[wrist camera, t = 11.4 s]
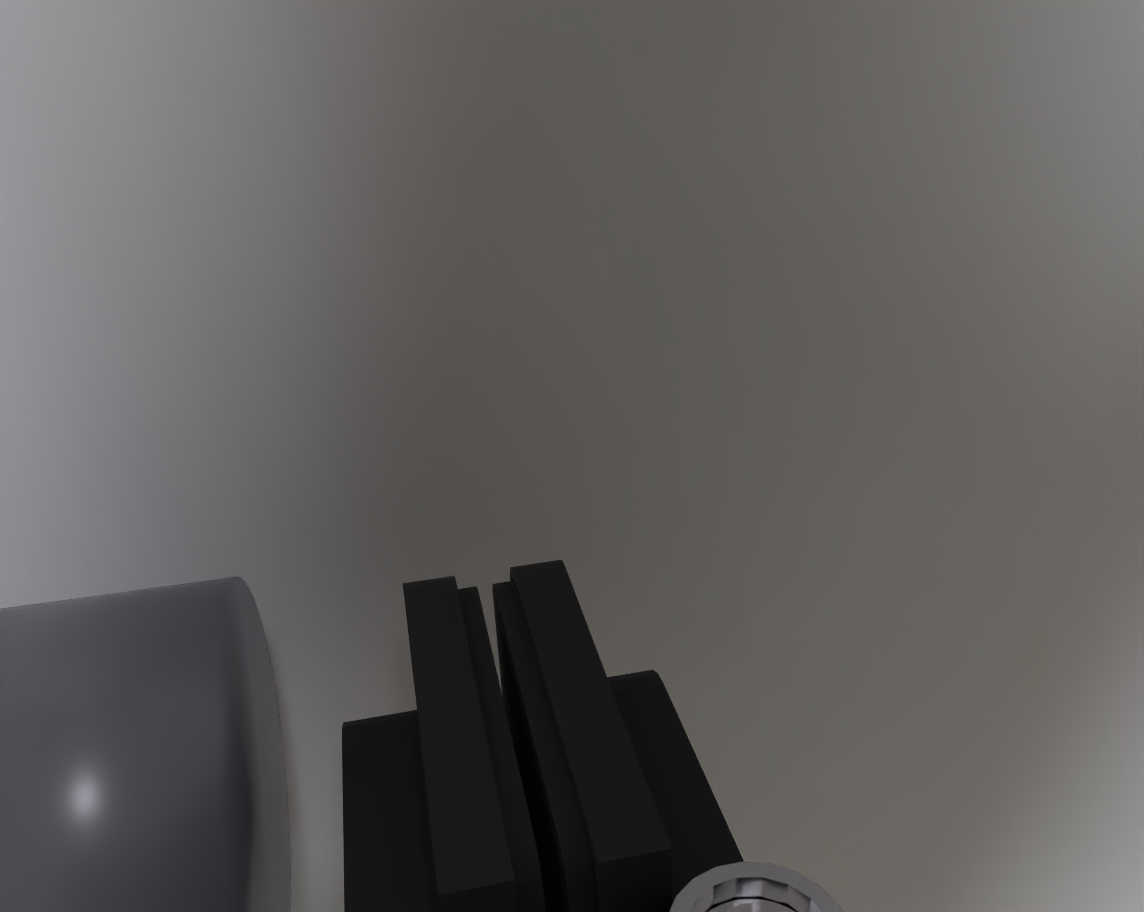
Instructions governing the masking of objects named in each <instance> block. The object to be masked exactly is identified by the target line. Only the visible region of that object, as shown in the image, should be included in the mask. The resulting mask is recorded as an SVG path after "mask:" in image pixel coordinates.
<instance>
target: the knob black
mask: <svg viewBox="0 0 1144 912" xmlns="http://www.w3.org/2000/svg"><path fill="white" fill-rule="evenodd" d="M290 898H291V864H290V831H289V812H288V796H287V783H286V771H285V760H284V751H283V741H282V733H281V725H280V717H279V710H278V703H277V696H276V690H275V684H274V677H273V672H272V667H271V661H270V656H269V651H268V647H267V642H266V638H265V634H264V630H263V626H262V622H261V619H260V615H259V612H258V609H257V606H256V603H255V600H254V598H253V595H252V593H251V591H250V589H249V587H248V586H247V584H246V582H245V581H244V580H243V579H242V578H240V577H232V578H225V579H217V580H210V581H203V582H195V583H188V584H180V585H173V586H166V587H158V588H151V589H143V590H136V591H129V592H121V593H114V594H107V595H99V596H92V597H84V598H77V599H70V600H62V601H55V602H47V603H40V604H33V605H25V606H18V607H10V608H3V609H0V912H290Z"/></svg>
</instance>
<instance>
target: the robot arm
mask: <svg viewBox="0 0 1144 912" xmlns="http://www.w3.org/2000/svg"><path fill="white" fill-rule="evenodd" d="M403 589H404V598H405V607H406V615H407V624H408V633H409V642H410V651H411V660H412V668H413V677H414V686H415V695H416V704H417V710H414V711H408V712H402V713H397V714H391V715H385V716H379V717H373V718H367V719H361V720H356V721H350V722H344V723H343V727H342V767H343V836H344V905H345V912H844V911H843V909H842V908H841V907H840V905H839V904H838V903H837V902H836V901H835V900H834V899H833V898H832V897H831V896H830V895H829V894H828V893H827V892H826V891H825V890H824V889H823V888H822V887H821V886H819V885H818V884H816V883H814V882H813V881H811V880H809V879H808V878H806V877H804V876H803V875H801V874H799V873H798V872H796V871H792V870H789V869H786V868H783V867H780V866H776V865H773V864H770V863H755V862H744V861H743V859H742V856H741V854H740V852H739V850H738V848H737V845H736V843H735V841H734V839H733V837H732V834H731V832H730V830H729V828H728V825H727V823H726V821H725V819H724V817H723V814H722V812H721V810H720V808H719V806H718V803H717V801H716V799H715V797H714V794H713V792H712V790H711V788H710V786H709V783H708V781H707V779H706V777H705V775H704V772H703V770H702V768H701V766H700V763H699V761H698V759H697V757H696V755H695V752H694V750H693V748H692V746H691V743H690V741H689V739H688V737H687V735H686V732H685V730H684V728H683V726H682V724H681V721H680V719H679V717H678V715H677V712H676V710H675V708H674V706H673V704H672V701H671V699H670V697H669V695H668V693H667V690H666V688H665V686H664V684H663V682H662V680H661V678H660V676H659V675H658V673H657V672H655V671H654V670H649V671H643V672H637V673H631V674H625V675H619V676H613V677H608V678H607V676H606V674H605V671H604V668H603V666H602V663H601V660H600V658H599V655H598V652H597V650H596V647H595V645H594V642H593V639H592V637H591V634H590V631H589V629H588V626H587V623H586V621H585V618H584V615H583V613H582V610H581V608H580V605H579V602H578V600H577V597H576V594H575V592H574V589H573V586H572V584H571V581H570V578H569V576H568V573H567V570H566V568H565V565H564V563H563V561H562V560H557V561H550V562H543V563H537V564H530V565H523V566H517V567H511V569H510V581H509V582H502V583H496V584H493V601H494V611H495V622H496V633H497V643H498V654H499V664H500V675H501V686H502V693H501V689H500V685H499V680H498V676H497V671H496V667H495V663H494V658H493V654H492V650H491V645H490V641H489V636H488V632H487V628H486V623H485V619H484V615H483V610H482V606H481V601H480V597H479V593H478V589H477V587H470V588H463V589H457V585H456V580H455V576H450V577H444V578H437V579H430V580H424V581H417V582H410V583H404V584H403ZM502 696H503V698H502Z"/></svg>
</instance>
